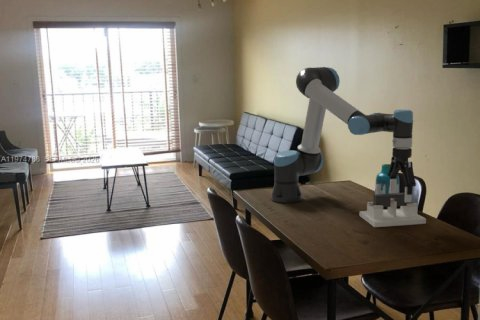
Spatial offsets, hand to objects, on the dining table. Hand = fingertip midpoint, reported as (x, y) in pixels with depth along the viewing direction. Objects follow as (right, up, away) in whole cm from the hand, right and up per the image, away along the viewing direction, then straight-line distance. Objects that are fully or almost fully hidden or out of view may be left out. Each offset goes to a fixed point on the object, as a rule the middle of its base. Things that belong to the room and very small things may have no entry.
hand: (400, 197), depth 208 cm
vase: (+1, -6, +22) cm, 22 cm away
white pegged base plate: (-3, -9, +1) cm, 10 cm away
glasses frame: (-3, -3, 0) cm, 5 cm away
